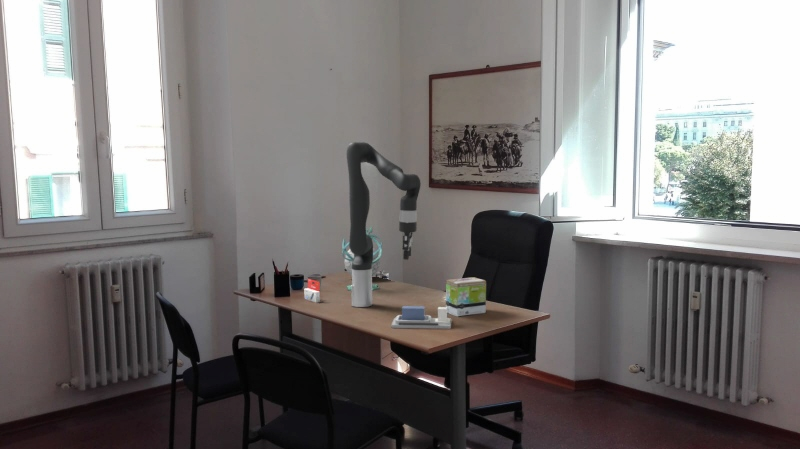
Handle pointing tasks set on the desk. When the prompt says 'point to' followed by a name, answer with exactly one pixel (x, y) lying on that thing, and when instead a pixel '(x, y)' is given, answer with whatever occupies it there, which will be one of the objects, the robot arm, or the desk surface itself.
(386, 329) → the desk surface
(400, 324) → the dock
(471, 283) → the tea box
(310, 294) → the ink cartridge box
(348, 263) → the decorative sphere
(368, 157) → the robot arm
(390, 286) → the desk surface
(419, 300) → the desk surface
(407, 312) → the blue block
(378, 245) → the armillary sphere
